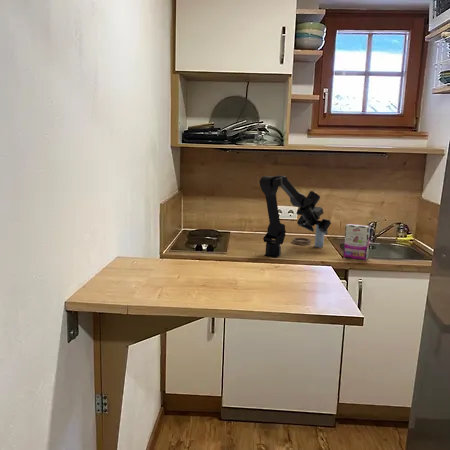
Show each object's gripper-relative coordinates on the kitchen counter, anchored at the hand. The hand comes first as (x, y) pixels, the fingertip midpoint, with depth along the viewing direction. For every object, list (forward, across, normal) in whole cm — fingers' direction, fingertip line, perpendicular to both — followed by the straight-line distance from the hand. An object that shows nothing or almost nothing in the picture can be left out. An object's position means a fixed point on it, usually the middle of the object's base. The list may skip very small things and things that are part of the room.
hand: (320, 232), depth 250 cm
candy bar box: (+3, -26, +8) cm, 27 cm away
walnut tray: (+4, +11, +7) cm, 14 cm away
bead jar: (+5, 0, +6) cm, 8 cm away
